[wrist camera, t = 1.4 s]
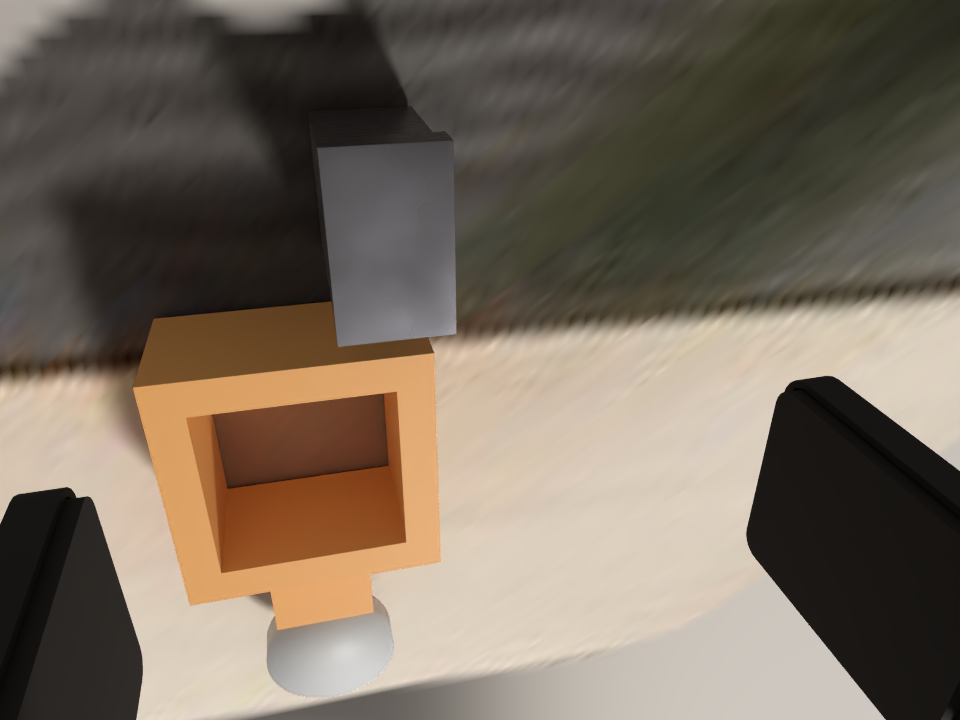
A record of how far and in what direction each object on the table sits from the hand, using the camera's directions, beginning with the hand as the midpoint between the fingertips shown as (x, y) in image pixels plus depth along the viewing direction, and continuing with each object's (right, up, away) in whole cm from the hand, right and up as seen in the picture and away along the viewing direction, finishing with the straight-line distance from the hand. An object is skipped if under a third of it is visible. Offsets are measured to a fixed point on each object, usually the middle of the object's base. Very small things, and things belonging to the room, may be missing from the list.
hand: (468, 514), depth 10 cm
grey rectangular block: (-4, +8, +14) cm, 17 cm away
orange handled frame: (-6, -3, +20) cm, 21 cm away
